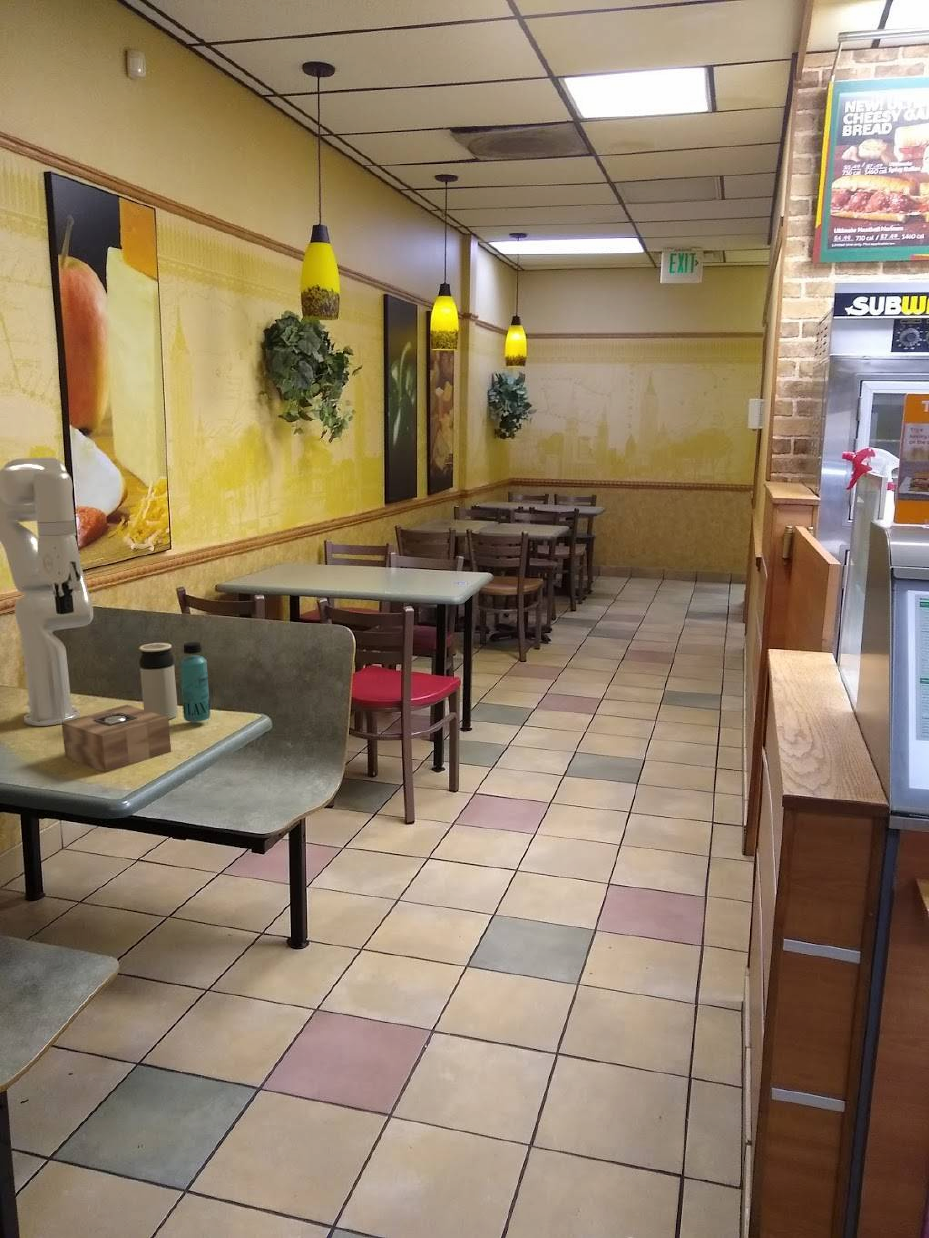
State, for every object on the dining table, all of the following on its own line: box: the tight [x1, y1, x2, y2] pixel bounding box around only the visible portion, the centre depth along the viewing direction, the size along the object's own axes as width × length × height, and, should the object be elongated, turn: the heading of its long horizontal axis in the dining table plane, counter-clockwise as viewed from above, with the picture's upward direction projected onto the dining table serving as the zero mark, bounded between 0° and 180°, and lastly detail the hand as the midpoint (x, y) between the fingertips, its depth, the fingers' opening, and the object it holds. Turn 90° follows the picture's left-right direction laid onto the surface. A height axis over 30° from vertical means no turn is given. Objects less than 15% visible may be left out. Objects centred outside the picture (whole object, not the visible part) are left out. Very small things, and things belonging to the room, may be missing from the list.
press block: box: [61, 704, 172, 773], centre depth 216 cm, size 16×16×8 cm
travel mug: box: [139, 642, 179, 720], centre depth 241 cm, size 8×8×18 cm
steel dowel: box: [105, 716, 126, 724], centre depth 216 cm, size 4×4×8 cm
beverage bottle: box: [179, 641, 211, 723], centre depth 235 cm, size 6×7×20 cm
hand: (65, 612), depth 215 cm, fingers closed
